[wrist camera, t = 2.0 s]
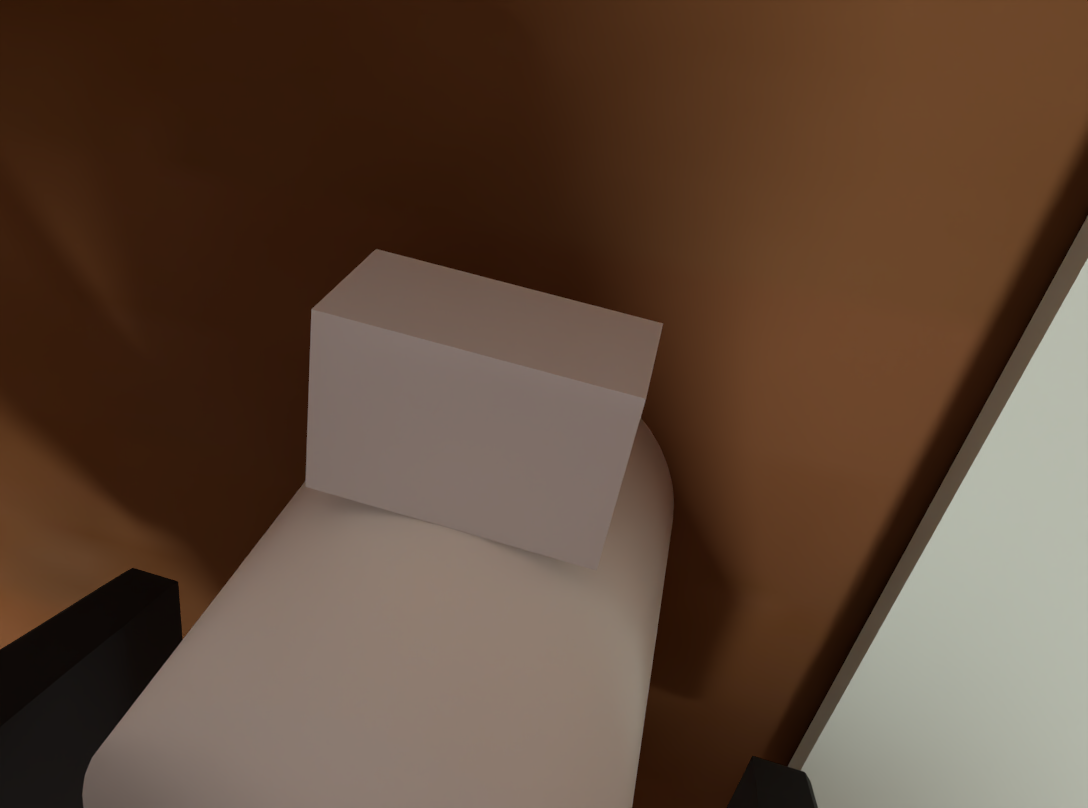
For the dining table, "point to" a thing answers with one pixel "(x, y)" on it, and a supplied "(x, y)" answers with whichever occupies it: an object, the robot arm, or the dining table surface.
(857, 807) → the mat
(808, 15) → the dining table surface
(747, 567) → the dining table surface
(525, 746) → the grey rounded piece
